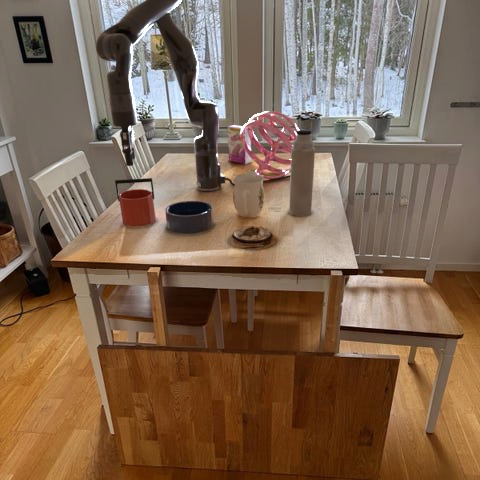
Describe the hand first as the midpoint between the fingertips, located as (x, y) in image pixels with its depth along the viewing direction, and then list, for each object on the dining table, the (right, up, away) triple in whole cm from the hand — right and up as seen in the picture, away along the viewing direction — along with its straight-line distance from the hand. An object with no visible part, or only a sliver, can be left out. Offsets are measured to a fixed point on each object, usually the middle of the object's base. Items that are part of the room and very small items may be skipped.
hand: (131, 162), depth 155 cm
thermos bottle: (+58, -13, +16) cm, 61 cm away
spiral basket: (+51, +13, +58) cm, 78 cm away
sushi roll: (+40, -27, -5) cm, 48 cm away
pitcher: (+39, -15, +14) cm, 44 cm away
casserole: (+19, -20, +6) cm, 28 cm away
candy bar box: (+36, +26, +79) cm, 91 cm away
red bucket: (0, -17, +11) cm, 21 cm away
